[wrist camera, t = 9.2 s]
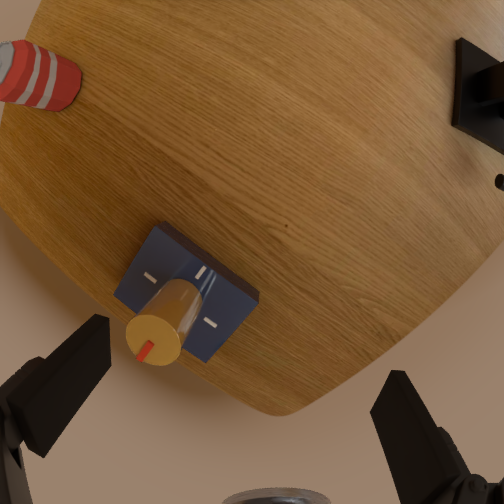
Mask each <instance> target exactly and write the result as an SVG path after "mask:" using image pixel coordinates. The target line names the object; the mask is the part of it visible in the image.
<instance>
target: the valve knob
mask: <svg viewBox="0 0 504 504" xmlns="http://www.w3.org/2000/svg"><path fill="white" fill-rule="evenodd" d="M201 308H202V297H201V294H200V292H199V290H198V289H197V288H196V287H195V286H194V285H193V284H192V283H190V282H189V281H186V280H183V279H172V280H169V281H167V282H166V283H165V284H164V285H163V286H162V287H161V288H160V289H159V290H158V291H157V292H156V293H155V294H154V295H153V296H152V297H151V299H150V300H149V301H148V302H147V303H146V304H145V305H144V306H143V307H142V308H141V309H140V311H139V312H138V313H137V314H136V315H135V316H134V317H133V318H132V319H131V321H130V322H129V323H128V325H127V328H126V339H127V343H128V345H129V347H130V349H131V350H132V352H134V354H135V355H136V356H137V357H136V359H137V360H139V361H140V362H142V361H145V362H146V363H149V364H152V365H158V366H160V365H167V364H170V363H172V362H173V361H175V360H176V359H177V357H178V356H179V354H180V352H181V350H182V348H183V346H184V344H185V342H186V340H187V337H188V335H189V333H190V331H191V329H192V327H193V325H194V323H195V321H196V319H197V317H198V315H199V313H200V311H201Z"/></svg>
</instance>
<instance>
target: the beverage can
mask: <svg viewBox="0 0 504 504" xmlns="http://www.w3.org/2000/svg"><path fill="white" fill-rule="evenodd" d="M81 74H82V73H81V71H80V70H79V68H78V67H77V65H76V64H75V63H73V62H71V61H69V60H67V59H65V58H63V57H61V56H59V55H57V54H55V53H52V52H50V51H48V50H46V49H44V48H41V47H39V46H37V45H35V44H33V43H30V42H28V41H26V40H18V41H13V42H11V41H6V42H1V43H0V101H3V102H9V103H14V104H19V105H25V106H30V107H35V108H39V109H44V110H49V111H57V112H59V111H60V110H62V109H63V108H65V107H66V106H68V105H69V104H71V103H72V101H73V99H74V97H75V96H76V94H77V92H78V91H79V89H80V83H81Z"/></svg>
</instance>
